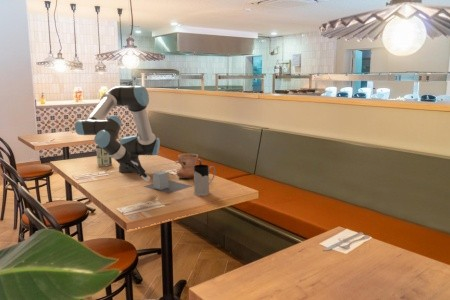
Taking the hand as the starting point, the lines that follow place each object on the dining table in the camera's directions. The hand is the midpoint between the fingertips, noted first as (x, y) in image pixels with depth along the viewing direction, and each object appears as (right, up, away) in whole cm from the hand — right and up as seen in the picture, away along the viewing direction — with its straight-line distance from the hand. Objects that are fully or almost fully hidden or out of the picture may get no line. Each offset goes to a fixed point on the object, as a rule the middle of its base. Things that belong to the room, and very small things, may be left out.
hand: (148, 179), depth 205 cm
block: (+6, -5, +8) cm, 11 cm away
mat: (+9, -5, +11) cm, 15 cm away
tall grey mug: (+31, -7, +1) cm, 32 cm away
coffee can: (-46, +5, +71) cm, 85 cm away
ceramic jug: (+19, -1, +33) cm, 38 cm away
